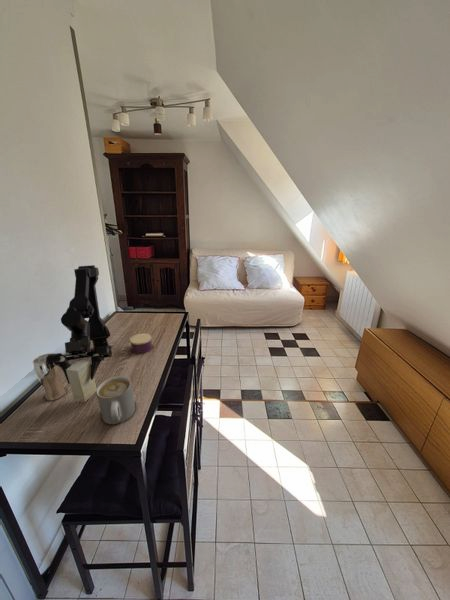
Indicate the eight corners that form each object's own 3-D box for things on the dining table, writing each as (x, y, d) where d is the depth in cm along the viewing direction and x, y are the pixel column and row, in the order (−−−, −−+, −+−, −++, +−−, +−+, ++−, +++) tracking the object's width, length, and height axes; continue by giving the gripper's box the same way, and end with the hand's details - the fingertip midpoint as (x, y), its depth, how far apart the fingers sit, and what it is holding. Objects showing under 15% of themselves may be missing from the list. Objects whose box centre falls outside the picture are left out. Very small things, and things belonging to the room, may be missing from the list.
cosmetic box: (85, 402, 82) (77, 371, 77) (73, 400, 83) (64, 370, 78) (97, 389, 88) (91, 360, 83) (86, 387, 88) (79, 358, 84)
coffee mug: (107, 402, 85) (102, 378, 81) (137, 399, 86) (133, 375, 83) (93, 435, 72) (86, 408, 69) (129, 431, 74) (124, 404, 70)
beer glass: (51, 388, 92) (40, 353, 87) (70, 387, 92) (61, 352, 87) (39, 402, 85) (26, 365, 80) (60, 400, 86) (49, 363, 81)
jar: (127, 350, 116) (125, 340, 114) (142, 341, 123) (140, 331, 121) (142, 355, 111) (140, 345, 110) (156, 346, 119) (155, 335, 117)
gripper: (39, 333, 78) (36, 384, 72) (104, 324, 83) (106, 372, 77) (53, 343, 87) (51, 388, 82) (111, 334, 93) (113, 377, 87)
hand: (80, 381), depth 81 cm, fingers closed on cosmetic box, 6 cm apart
